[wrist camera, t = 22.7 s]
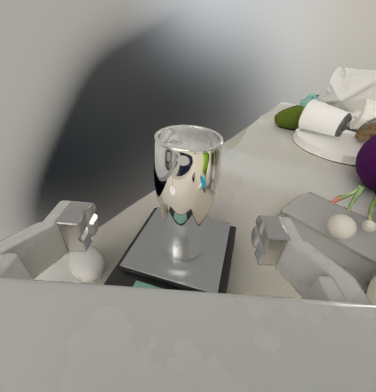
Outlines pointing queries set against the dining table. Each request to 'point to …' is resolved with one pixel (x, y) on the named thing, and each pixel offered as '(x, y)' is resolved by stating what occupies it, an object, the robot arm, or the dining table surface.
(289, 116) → the avocado
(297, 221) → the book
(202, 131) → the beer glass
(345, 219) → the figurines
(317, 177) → the dining table surface
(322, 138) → the plate
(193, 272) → the scale pan
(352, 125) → the fabric swatch
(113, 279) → the scale
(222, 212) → the dining table surface
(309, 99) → the toy
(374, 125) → the rock
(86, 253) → the egg
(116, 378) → the robot arm
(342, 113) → the cup
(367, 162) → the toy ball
